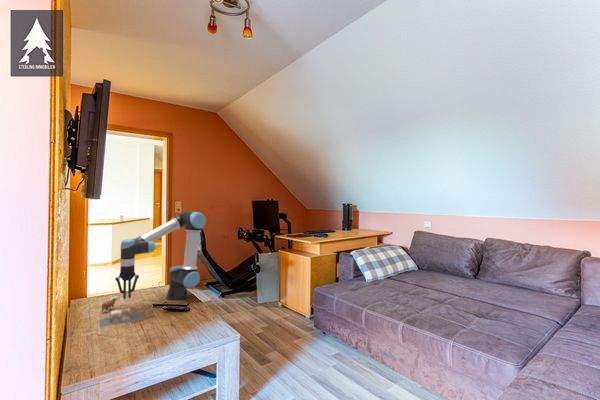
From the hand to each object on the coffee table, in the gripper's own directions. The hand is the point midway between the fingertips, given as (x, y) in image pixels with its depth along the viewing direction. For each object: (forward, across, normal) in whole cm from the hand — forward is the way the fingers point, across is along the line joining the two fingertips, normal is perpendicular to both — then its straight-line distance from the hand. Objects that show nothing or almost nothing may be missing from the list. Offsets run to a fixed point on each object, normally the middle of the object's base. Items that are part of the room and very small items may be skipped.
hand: (126, 303), depth 183 cm
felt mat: (+10, +3, 0) cm, 10 cm away
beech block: (+7, -2, 0) cm, 7 cm away
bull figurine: (+10, +9, -20) cm, 24 cm away
